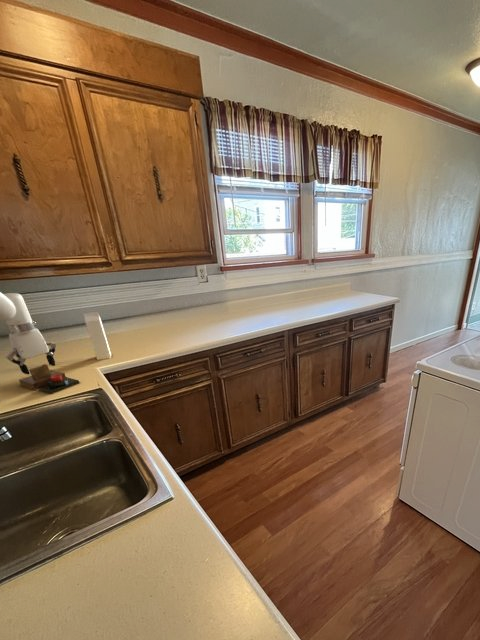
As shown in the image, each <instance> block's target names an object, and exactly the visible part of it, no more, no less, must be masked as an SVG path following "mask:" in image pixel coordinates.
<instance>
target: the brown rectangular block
mask: <svg viewBox="0 0 480 640" xmlns="http://www.w3.org/2000/svg"><path fill="white" fill-rule="evenodd" d="M28 370H29V373H30V376H32V378H33V379H38V378H41V377H44V376H47V375H50V374H51V373H50V371H49V370H50V369H49V366H48V365H47V364H45V363H44V364H42V365H39V366H36V367H33V368H28Z"/></svg>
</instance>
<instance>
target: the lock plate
mask: <svg viewBox="0 0 480 640" xmlns="http://www.w3.org/2000/svg"><path fill="white" fill-rule="evenodd" d="M49 371H50V373H51V374H50V375H47V376H44V377H41V378H38V379H33V378H32V375H30V376H26V377H24V378H21V379H18V382H19V384H20V386H21V387H23V388H27V389H30V390H33V391H37V390H38V391H39V389H38V387H40V386H43V385H46V384H48V383H47V381H48V380H49V379H51V378H50V377H51V376H54V375H61V376H65V377H67V376H66V374H65V372H61V371H57V370H53V369H49Z"/></svg>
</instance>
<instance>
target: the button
mask: <svg viewBox="0 0 480 640" xmlns="http://www.w3.org/2000/svg"><path fill="white" fill-rule="evenodd" d="M50 378H51V381H52V382H56V381H60V380H62V379H63V378H62V376H61V375H54V376H51V377H50Z"/></svg>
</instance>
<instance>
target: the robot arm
mask: <svg viewBox="0 0 480 640" xmlns="http://www.w3.org/2000/svg"><path fill="white" fill-rule="evenodd" d="M0 321H5V322H6V324H7V327H8V329H9V331H10V332H9V333H8V338H9V342H10V345H11V349H12V350H11V351H10V352H9V353H7V355H6V356H5V359H7V360H8V361H9V362H11V363H13V364H15V365H18V367H19V369H20V371H21V373H22V374H24V375H31V373H30V371H29V368H28V366H27V364H25V363H26V360H28V359H31V358H32V359H33V358H35V357H38V356H42V355H45V356H46V360H47V363H48V365H49V366H52V367H55V366H56V360H55V358H54V355H55V352H56V347H57V344H56V343H55V342H49V341H46V339H45V338H44V336H43V335H42V333H41V331H40V330H39V328H37V326H38V325H39V324H38V322H37V321H34V320H33V319H32V316H31V314H30V312H29V309H28V306H27V305H26V301H25V300H24V297H23V295H22V294H20V293H18V292H6V293H3V292H1V291H0ZM49 347H50V348H49ZM14 357H16V358H17V359H15V358H14Z"/></svg>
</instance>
